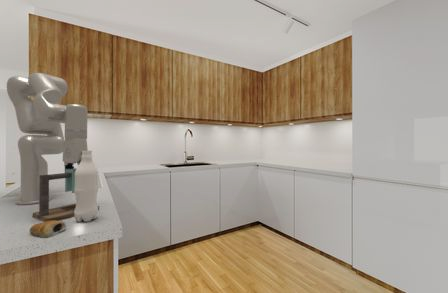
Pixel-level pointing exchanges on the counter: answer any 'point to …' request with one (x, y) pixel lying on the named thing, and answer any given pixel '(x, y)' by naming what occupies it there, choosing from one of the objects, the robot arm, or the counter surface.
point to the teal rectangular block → (70, 180)
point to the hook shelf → (57, 213)
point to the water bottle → (86, 188)
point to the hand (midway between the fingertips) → (75, 177)
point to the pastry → (48, 228)
